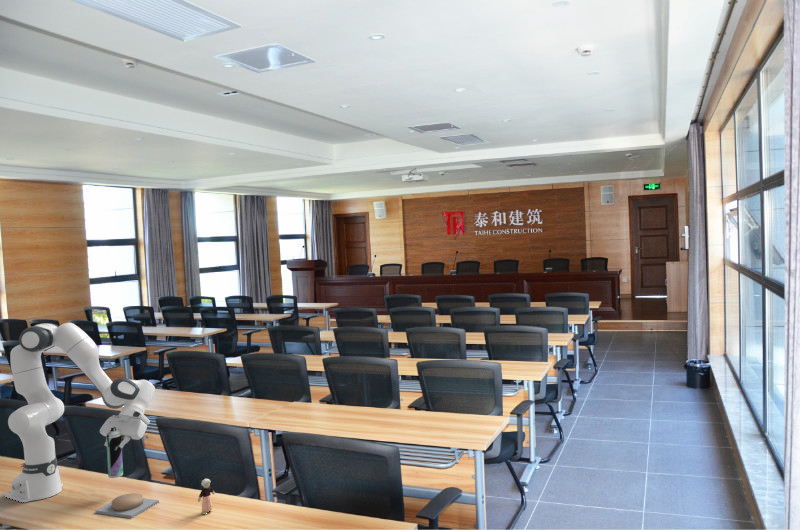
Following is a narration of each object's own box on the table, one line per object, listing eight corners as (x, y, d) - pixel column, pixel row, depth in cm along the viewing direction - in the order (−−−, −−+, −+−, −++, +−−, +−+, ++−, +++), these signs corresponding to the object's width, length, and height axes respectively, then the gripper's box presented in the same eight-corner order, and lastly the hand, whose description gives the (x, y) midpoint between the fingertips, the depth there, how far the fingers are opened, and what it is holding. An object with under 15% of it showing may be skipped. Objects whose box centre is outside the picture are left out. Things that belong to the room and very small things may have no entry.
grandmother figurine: (205, 516, 223) (203, 482, 223) (197, 515, 225) (195, 482, 224) (218, 507, 231) (216, 475, 230) (210, 506, 232) (208, 474, 232)
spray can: (117, 478, 243) (114, 429, 243) (105, 477, 244) (103, 429, 244) (125, 473, 249) (123, 425, 248) (114, 472, 250) (112, 425, 249)
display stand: (95, 513, 231) (94, 504, 231) (123, 498, 244) (123, 489, 244) (132, 518, 225) (131, 509, 225) (159, 502, 238) (158, 494, 238)
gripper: (107, 410, 256) (89, 440, 247) (145, 414, 249) (127, 445, 240) (115, 418, 260) (98, 448, 251) (153, 421, 253) (136, 452, 244)
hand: (113, 446), depth 245 cm, fingers closed on spray can, 5 cm apart
